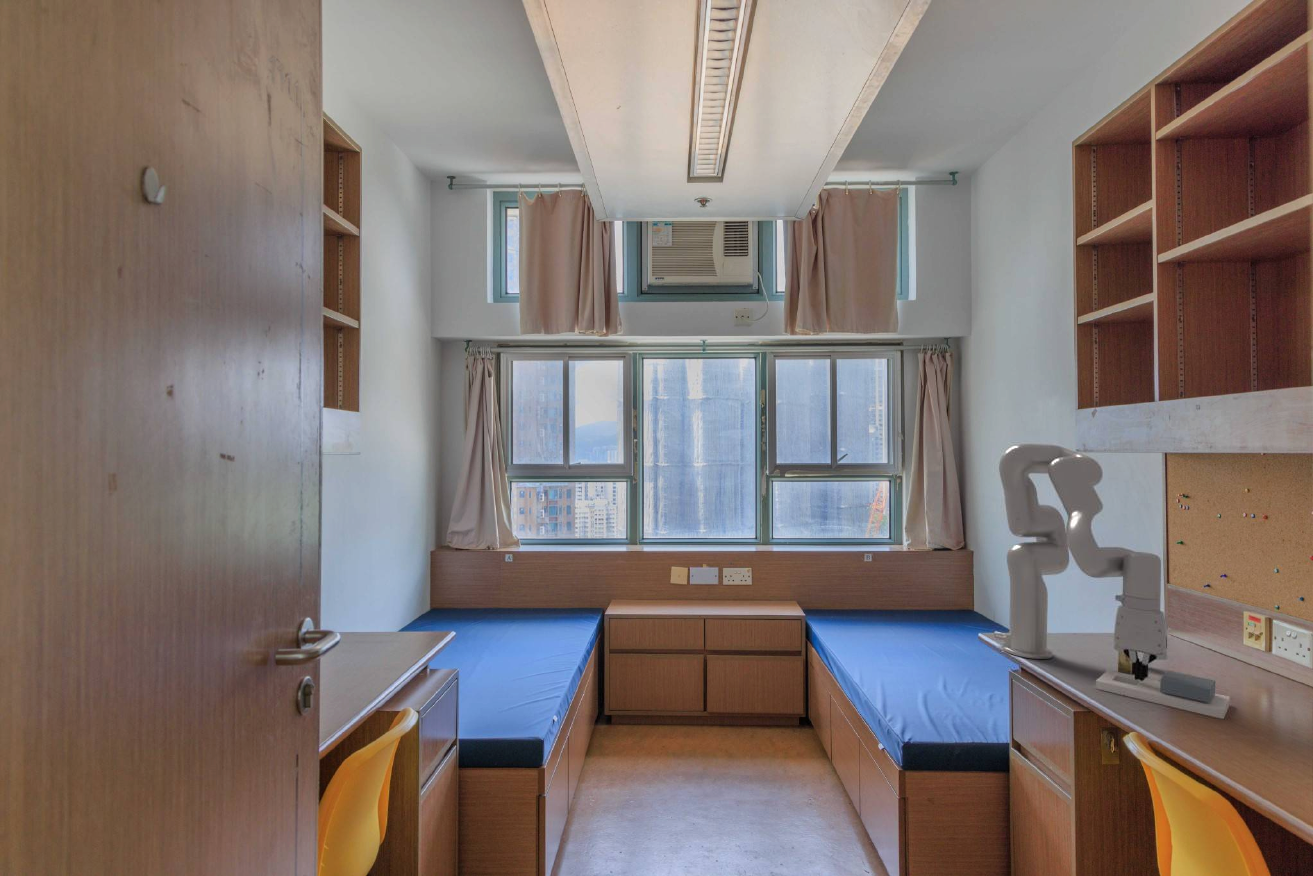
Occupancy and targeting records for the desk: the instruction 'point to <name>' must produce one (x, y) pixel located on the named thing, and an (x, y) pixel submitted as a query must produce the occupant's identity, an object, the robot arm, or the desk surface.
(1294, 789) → the desk surface
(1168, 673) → the housing
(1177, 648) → the desk surface
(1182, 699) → the board
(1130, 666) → the pin
